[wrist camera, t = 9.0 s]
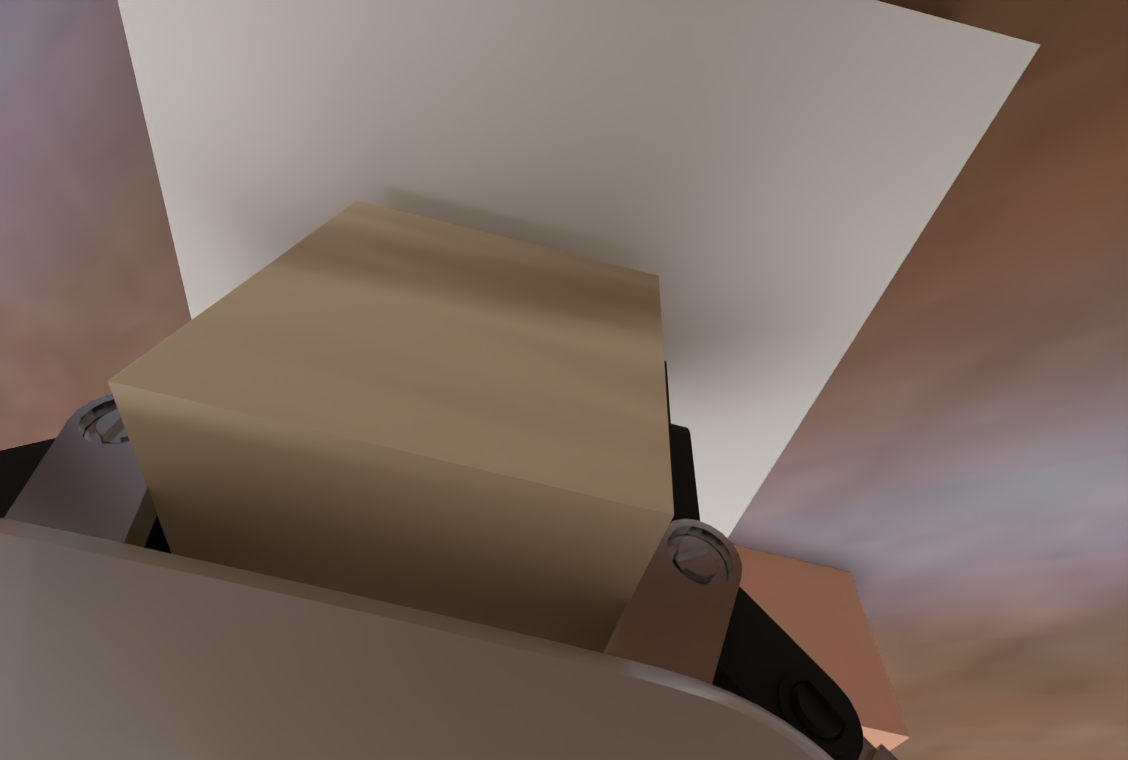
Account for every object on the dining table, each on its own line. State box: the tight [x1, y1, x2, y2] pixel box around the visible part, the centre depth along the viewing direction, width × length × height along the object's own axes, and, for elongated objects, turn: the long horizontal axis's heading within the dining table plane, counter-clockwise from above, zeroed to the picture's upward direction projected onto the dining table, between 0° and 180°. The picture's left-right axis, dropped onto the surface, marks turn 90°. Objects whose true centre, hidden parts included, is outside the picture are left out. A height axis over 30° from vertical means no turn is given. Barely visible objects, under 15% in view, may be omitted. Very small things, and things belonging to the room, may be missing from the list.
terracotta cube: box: [734, 545, 910, 751], centre depth 21 cm, size 6×6×6 cm
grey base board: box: [118, 0, 1040, 538], centre depth 15 cm, size 16×16×3 cm
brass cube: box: [108, 200, 674, 653], centre depth 10 cm, size 6×6×6 cm
